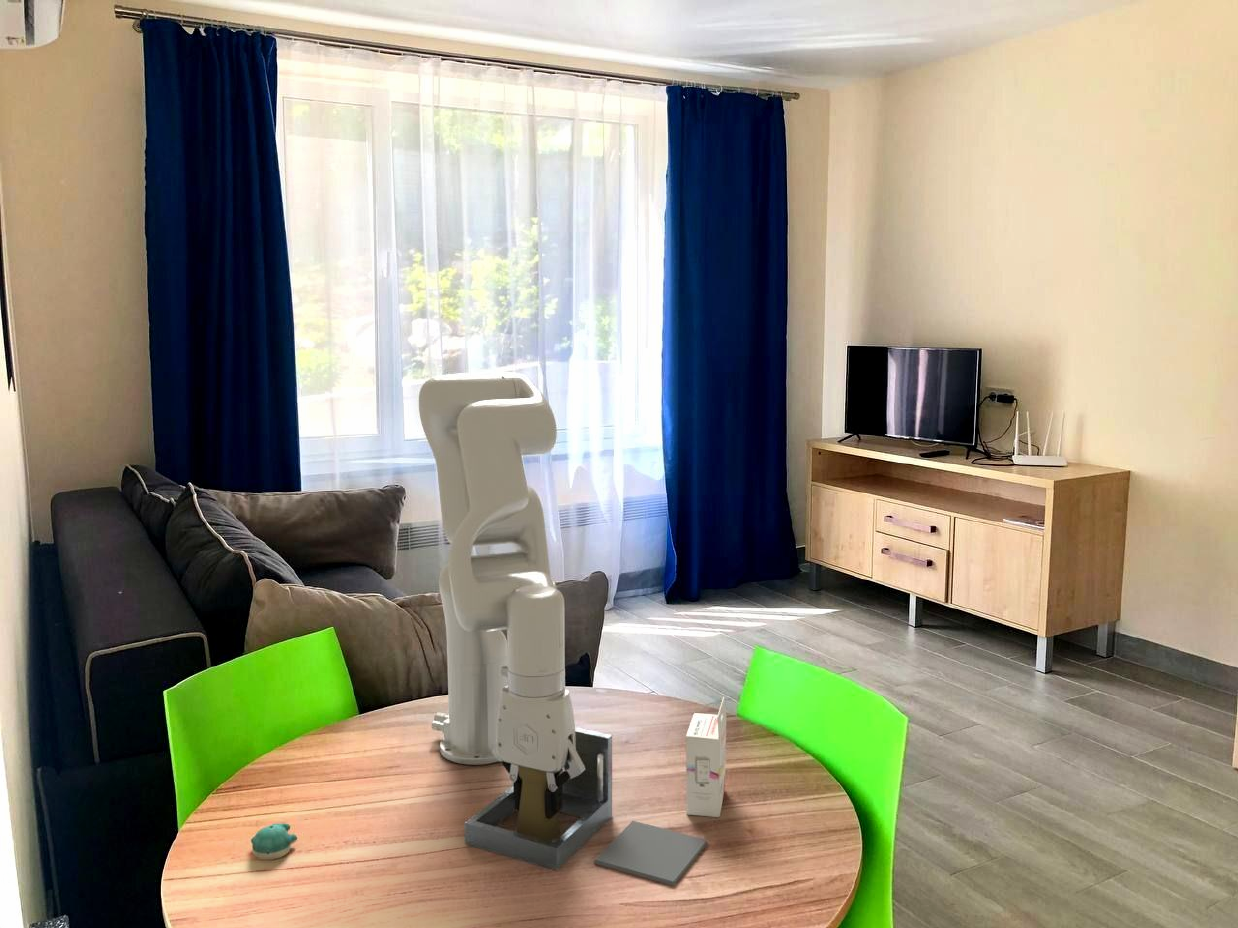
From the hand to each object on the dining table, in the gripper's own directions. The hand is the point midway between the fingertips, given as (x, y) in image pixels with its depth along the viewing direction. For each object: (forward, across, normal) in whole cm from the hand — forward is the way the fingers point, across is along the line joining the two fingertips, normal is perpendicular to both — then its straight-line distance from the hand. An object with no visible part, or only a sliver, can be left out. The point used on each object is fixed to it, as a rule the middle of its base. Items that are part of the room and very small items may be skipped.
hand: (538, 808), depth 135 cm
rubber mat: (+3, +16, +2) cm, 16 cm away
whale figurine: (+4, -29, -19) cm, 35 cm away
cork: (+3, 0, 0) cm, 3 cm away
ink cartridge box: (+4, +17, +18) cm, 25 cm away
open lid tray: (+3, 0, 0) cm, 3 cm away
